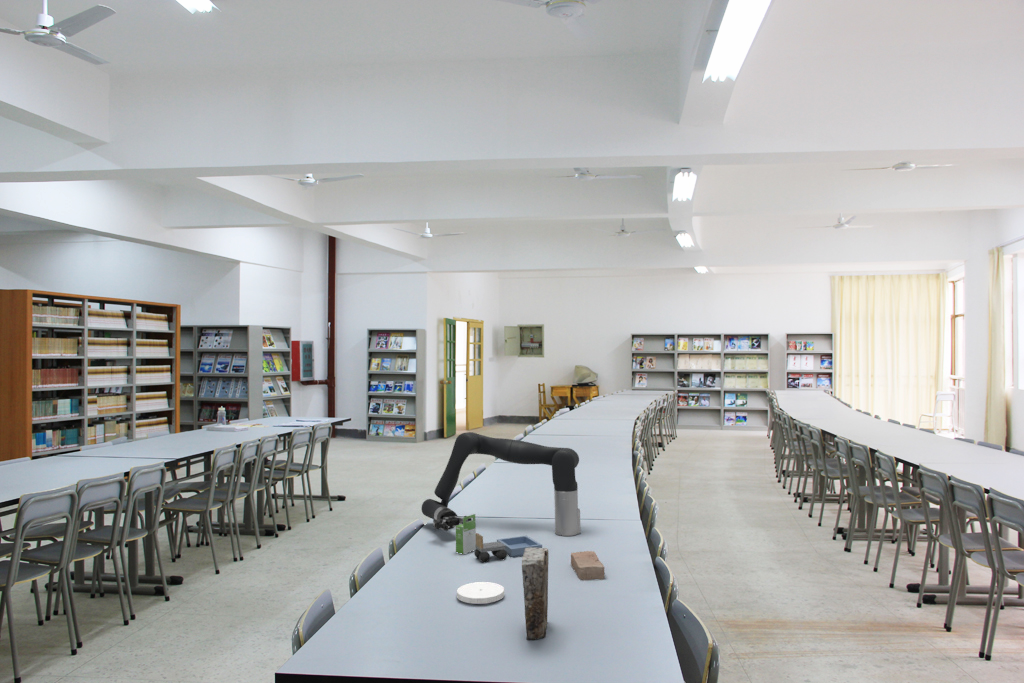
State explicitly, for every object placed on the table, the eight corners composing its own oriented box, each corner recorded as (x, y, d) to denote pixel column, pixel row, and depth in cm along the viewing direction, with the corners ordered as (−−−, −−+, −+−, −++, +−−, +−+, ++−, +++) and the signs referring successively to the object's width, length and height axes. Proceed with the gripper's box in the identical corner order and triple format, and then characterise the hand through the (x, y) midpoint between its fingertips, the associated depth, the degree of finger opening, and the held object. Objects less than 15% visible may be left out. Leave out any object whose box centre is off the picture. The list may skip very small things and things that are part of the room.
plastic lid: (487, 610, 194) (487, 601, 194) (447, 601, 201) (447, 593, 201) (513, 595, 206) (513, 586, 206) (475, 587, 213) (474, 579, 213)
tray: (526, 543, 260) (526, 535, 260) (542, 553, 247) (542, 544, 247) (496, 547, 255) (496, 539, 255) (511, 557, 242) (511, 549, 242)
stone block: (523, 620, 186) (522, 545, 186) (549, 620, 185) (548, 545, 186) (523, 641, 172) (521, 560, 173) (551, 640, 172) (549, 560, 172)
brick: (605, 580, 218) (605, 565, 218) (579, 581, 217) (579, 566, 217) (594, 564, 234) (594, 550, 234) (570, 565, 233) (569, 551, 233)
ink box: (468, 548, 254) (468, 512, 255) (476, 550, 252) (475, 513, 252) (455, 553, 249) (454, 516, 249) (463, 555, 246) (462, 517, 247)
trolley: (500, 554, 246) (500, 529, 246) (507, 559, 240) (506, 533, 241) (474, 558, 242) (473, 533, 242) (480, 563, 237) (479, 537, 237)
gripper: (428, 510, 271) (439, 519, 256) (462, 506, 277) (475, 514, 262) (428, 529, 271) (440, 539, 256) (462, 525, 277) (476, 534, 262)
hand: (458, 526), depth 259 cm, fingers open, 8 cm apart
